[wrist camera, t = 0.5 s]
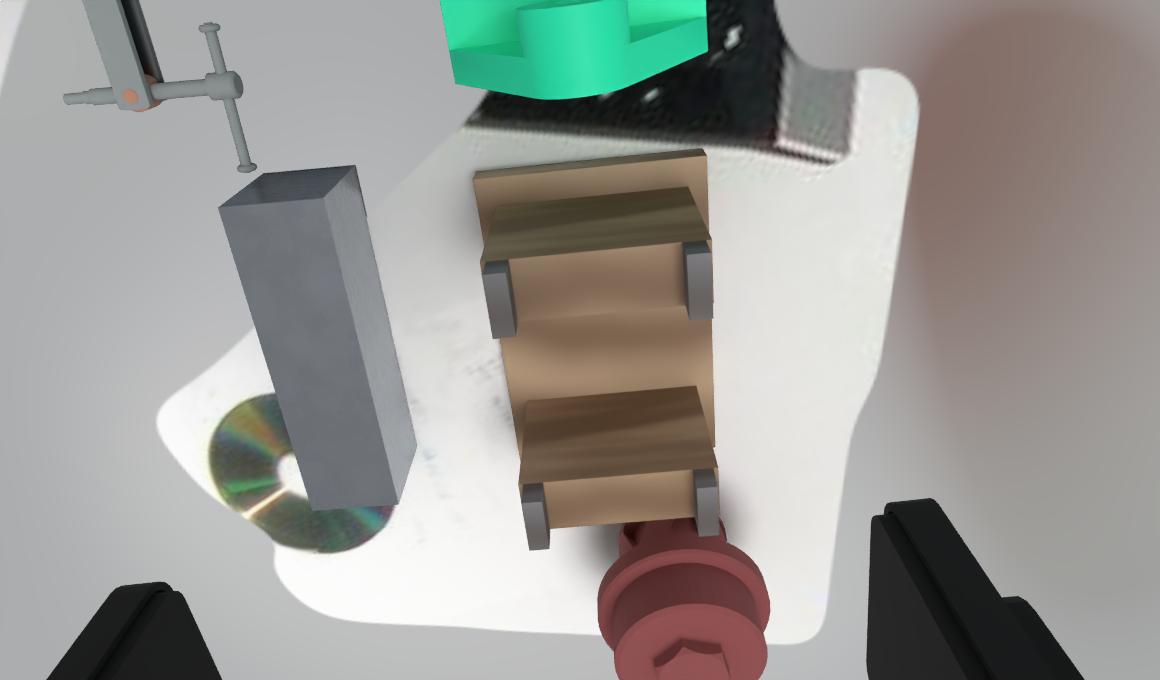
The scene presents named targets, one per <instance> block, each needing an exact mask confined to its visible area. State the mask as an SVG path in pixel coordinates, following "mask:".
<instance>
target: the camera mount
mask: <svg viewBox="0 0 1160 680" xmlns="http://www.w3.org/2000/svg"><path fill="white" fill-rule="evenodd" d="M440 3H441V9H442V14H443V20H444V25H445V30H446V35H447V41H448V46H449V51H450V57H451V62H452V67H453V73H454V77H455V83H456V84H460V85H465V86H471V87H476V88H481V89H487V90H492V91H498V92H503V93H509V94H514V95H520V96H525V97H530V98H536V99H569V98H579V97H586V96H593V95H598V94H604V93H608V92H612V91H616V90H620V89H623V88H625V87H628V86H630V85H632V84H635V83H637V82H639V81H641V80H644V79H646V78H648V77H651V76H653V75H655V74H657V73H660V72H662V71H664V70H666V69H669V68H671V67H673V66H676V65H678V64H680V63H682V62H685V61H687V60H689V59H692V58H694V57H696V56H698V55H701V54H703V53H705V52H707V51H708V42H707V20H706V0H440Z"/></svg>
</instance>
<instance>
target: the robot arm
mask: <svg viewBox="0 0 1160 680" xmlns="http://www.w3.org/2000/svg"><path fill="white" fill-rule="evenodd" d="M866 662H867V673H868V678H869V680H1084V678H1083V677H1082V675H1081V674H1080V673H1079V671H1078V670H1077V669H1076V667H1075V666H1074V664H1073V663H1072V662H1071V660H1070V659H1069V657H1068V656H1067V654H1066V653H1065V652H1064V650H1063V649H1062V648H1061V646H1060V645H1059V643H1058V642H1057V641H1056V639H1055V638H1054V637H1053V635H1052V633H1051V632H1050V631H1049V629H1048V628H1047V626H1046V625H1045V624H1044V622H1043V621H1042V619H1041V618H1040V617H1039V615H1038V614H1037V612H1036V611H1035V610H1034V609H1033V608H1032V607H1031V605H1030V604H1029V603H1028V602H1027V601H1026V600H1024V599H1022V598H1021V597H1019V596H1014V597H1003V598H1002V597H1001V596H1000V594H999V593H998V592H997V590H996V589H995V587H994V586H993V584H992V583H991V581H990V580H989V578H988V577H987V575H986V574H985V572H984V571H983V569H982V568H981V566H980V565H979V563H978V562H977V560H976V559H975V557H974V556H973V554H972V553H971V551H970V550H969V548H968V547H967V546H966V544H965V543H964V542H963V540H962V538H961V537H960V535H959V534H958V532H957V531H956V530H955V528H954V526H953V525H952V523H951V522H950V520H949V519H948V518H947V516H946V514H945V513H944V512H943V510H942V508H941V507H940V506H939V504H938V503H937V502H936V501H935V500H934V499H931V498H927V499H919V500H909V501H900V502H890V503H887V504H886V506H885V509H884V515H876V516H873V517H872V520H871V538H870V569H869V599H868V629H867V659H866ZM46 680H222V679H221V676H220V674H219V672H218V670H217V667H216V665H215V663H214V661H213V659H212V656H211V654H210V653H209V650H208V648H207V646H206V643H205V641H204V639H203V637H202V635H201V632H200V630H199V628H198V626H197V624H196V622H195V619H194V617H193V615H192V613H191V611H190V608H189V606H188V604H187V602H186V600H185V598H184V596H183V595H182V593H180V592H179V591H173V590H172V588H171V587H170V585H168V584H167V583H165V582H152V583H143V584H133V585H125V586H120V587H118V588H116V589H115V590H114V591H113V592H112V593H111V594H110V595H109V596H108V597H107V599H106V600H105V602H104V603H103V604H102V606H101V607H100V608H99V610H98V611H97V612H96V614H95V615H94V616H93V618H92V619H91V620H90V622H89V623H88V624H87V626H86V627H85V628H84V630H83V631H82V632H81V634H80V635H79V636H78V638H77V639H76V640H75V642H74V643H73V645H72V646H71V647H70V649H69V650H68V651H67V653H66V654H65V655H64V657H63V658H62V659H61V661H60V662H59V664H58V665H57V666H56V667H55V669H54V670H53V671H52V673H51V674H50V676H49V677H48V678H47V679H46Z"/></svg>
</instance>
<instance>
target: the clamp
mask: <svg viewBox="0 0 1160 680" xmlns="http://www.w3.org/2000/svg"><path fill="white" fill-rule="evenodd" d="M82 1H83V4H84V7H85V10H86V13H87V16H88V19H89V22H90V25H91V28H92V31H93V34H94V37H95V40H96V42H97V45H98V48H99V51H100V54H101V57H102V60H103V63H104V66H105V69H106V72H107V75H108V77H109V81H110V84H111V86H112V87H109V88H96V89H90V90H89V91H83V92H82V93H70V94H64V96H63V99H64V102H65V103H66V104H68V105H70V104H81V103H86V104H93V105H102V104H114V103H117V104H118V107H119V109H122V110H132V111H135V112H143V111H146V110H148V109H151V108H153V107H156V106H158V105H159V104H161V102H163V101H165V100H168V99H172V98H184V97H195V96H207V95H209V96H210V98H211V99H212V100H223V101H224V105H225V108H226V112H227V116H228V120H229V123H230V127H231V131H232V134H233V138H234V142H235V145H236V149H237V153H238V156H239V160H240V164H241V165H239V166H238V167H237V170H238V171H239V172H245V173H249V172H251V171H254V170H256V168H257V165H256V164H254V163H251V161H250V157H249V153H248V149H247V145H246V142H245V138H244V134H243V130H242V127H241V123H240V119H239V115H238V112H237V108H236V104H235V100H234V99H236V98H240V97H241V96H242V94H243V84H242V80H241V78H240V76H239V75H238V74H237V73H236V72H234V71H228V72H227V70H226V66H225V63H224V59H223V56H222V51H221V48H220V44H219V40H218V36H217V33H216V31H218V30H220V26H219V25H218V24H213V23H204V25H200V26H199V31H200V32H205V35H206V38H207V42H208V46H209V50H210V53H211V57H212V61H213V64H214V68H215V72H216V73H208V74H206V76H205V79H202V80H190V81H179V82H166V83H165V82H164V79H163V76H162V72H161V70H160V66H159V63H158V60H157V56H156V53H155V50H154V47H153V43H152V40H151V37H150V34H149V31H148V27H147V24H146V21H145V18H144V15H143V11H142V8H141V5H140V2H139V0H82Z"/></svg>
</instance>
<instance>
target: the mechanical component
mask: <svg viewBox="0 0 1160 680" xmlns="http://www.w3.org/2000/svg"><path fill="white" fill-rule="evenodd" d="M619 555H620V558H619V559H618V560H617V561H616V562H615V563H614V564H613V565H612V566H611V567H610V569H609V570H608V571H607V572H606V574H605V576H604V578H603V580H602V582H601V585H600V587H599V591H598V598H597V601H598V622H599V628H600V631H601V633H602V636H603V638H604V639H605V641H606V643H607V644H608V645H609V647H610V648H611V649H612V650H613V651H614V663H615V669H616V673H617V675H618V678H619V680H758V679H759V678H760V676H761V675H762V673H763V671H764V669H765V666H766V662H767V645H766V642H765V638H764V634H763V632H764V631H765V629H766V626H767V623H768V621H769V615H770V600H769V596H768V592H767V589H766V585H765V582H764V579H763V576H762V574H761V572H760V570H759V568H758V566H757V565H756V564H755V563H754V561H753V560H752V559H751V558H750V557H749V556H748V555H746V554H745V553H744V552H743V551H741V550H740V549H738V548H737V547H735V546H733V545H731V544H729V543H727V538H726V532H725V528H724V525H723V523H722V521H721V519H720V518H719V535H714V536H702V537H699V534H698V529H697V524H696V519H695V517H688V518H676V519H664V520H651V521H639V522H627V523H624V524H623V526H622V528H621V531H620V535H619Z"/></svg>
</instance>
